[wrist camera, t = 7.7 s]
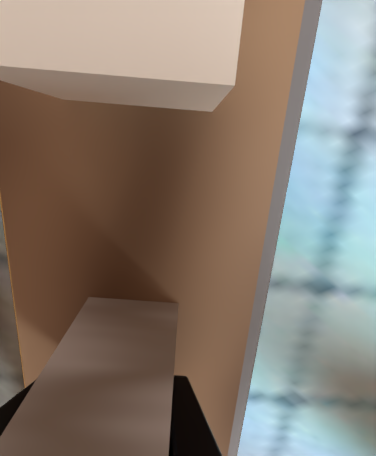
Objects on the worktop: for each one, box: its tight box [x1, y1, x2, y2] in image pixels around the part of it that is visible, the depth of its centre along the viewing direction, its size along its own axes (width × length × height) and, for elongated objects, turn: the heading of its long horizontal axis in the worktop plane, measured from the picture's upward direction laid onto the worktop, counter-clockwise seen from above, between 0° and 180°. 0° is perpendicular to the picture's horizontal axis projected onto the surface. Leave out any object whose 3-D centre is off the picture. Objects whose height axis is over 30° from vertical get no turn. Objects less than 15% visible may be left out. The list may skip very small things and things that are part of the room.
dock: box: [0, 0, 322, 456], centre depth 15 cm, size 13×30×3 cm, turn 176°
